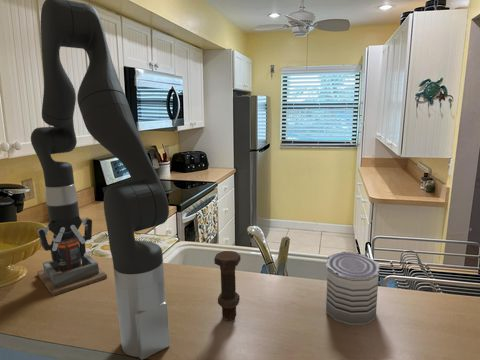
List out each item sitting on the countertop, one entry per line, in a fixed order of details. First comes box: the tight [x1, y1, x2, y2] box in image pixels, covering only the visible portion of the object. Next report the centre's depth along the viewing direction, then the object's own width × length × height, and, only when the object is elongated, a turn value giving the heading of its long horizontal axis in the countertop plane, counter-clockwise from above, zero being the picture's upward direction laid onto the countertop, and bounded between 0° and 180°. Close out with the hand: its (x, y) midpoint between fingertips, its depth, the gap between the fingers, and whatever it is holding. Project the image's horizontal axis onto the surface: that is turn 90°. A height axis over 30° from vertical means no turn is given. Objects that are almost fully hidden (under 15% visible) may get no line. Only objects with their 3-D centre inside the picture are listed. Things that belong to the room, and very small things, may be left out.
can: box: [325, 251, 380, 326], centre depth 81 cm, size 11×11×12 cm
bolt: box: [213, 250, 241, 321], centre depth 79 cm, size 6×5×15 cm
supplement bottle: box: [57, 231, 82, 272], centre depth 100 cm, size 6×6×11 cm
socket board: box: [36, 252, 108, 297], centre depth 102 cm, size 16×14×4 cm
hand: (69, 258), depth 101 cm, fingers closed on supplement bottle, 6 cm apart
